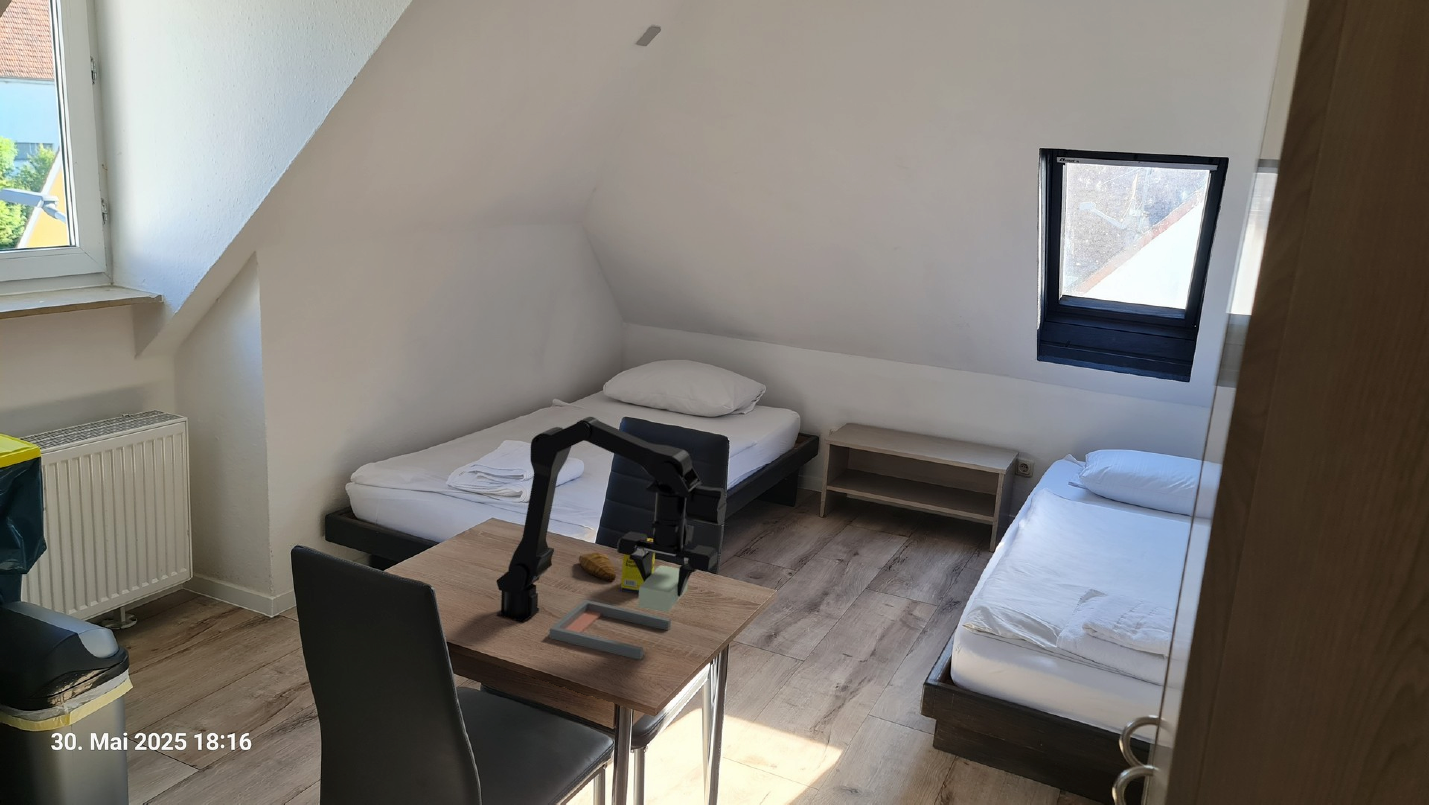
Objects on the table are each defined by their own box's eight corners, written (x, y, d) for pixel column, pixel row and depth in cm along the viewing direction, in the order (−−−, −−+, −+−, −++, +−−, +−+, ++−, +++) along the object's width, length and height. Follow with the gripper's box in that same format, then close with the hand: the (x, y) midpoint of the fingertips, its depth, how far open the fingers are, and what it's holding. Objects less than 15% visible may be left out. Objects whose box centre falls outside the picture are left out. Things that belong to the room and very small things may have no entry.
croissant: (567, 565, 229) (568, 545, 228) (592, 560, 233) (593, 540, 232) (600, 586, 219) (601, 565, 218) (625, 580, 223) (626, 559, 222)
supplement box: (646, 595, 216) (649, 548, 213) (620, 591, 217) (623, 544, 214) (653, 585, 221) (656, 539, 219) (627, 581, 222) (630, 535, 220)
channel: (549, 638, 192) (549, 628, 192) (584, 608, 206) (585, 599, 206) (640, 660, 186) (640, 650, 186) (670, 628, 200) (670, 619, 200)
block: (637, 606, 186) (639, 587, 185) (658, 583, 197) (660, 565, 196) (668, 612, 184) (669, 592, 183) (687, 589, 196) (688, 570, 195)
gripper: (729, 512, 192) (723, 587, 195) (641, 495, 198) (636, 569, 201) (710, 529, 182) (704, 608, 185) (618, 511, 187) (613, 588, 191)
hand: (664, 592), depth 191 cm, fingers closed on block, 6 cm apart
